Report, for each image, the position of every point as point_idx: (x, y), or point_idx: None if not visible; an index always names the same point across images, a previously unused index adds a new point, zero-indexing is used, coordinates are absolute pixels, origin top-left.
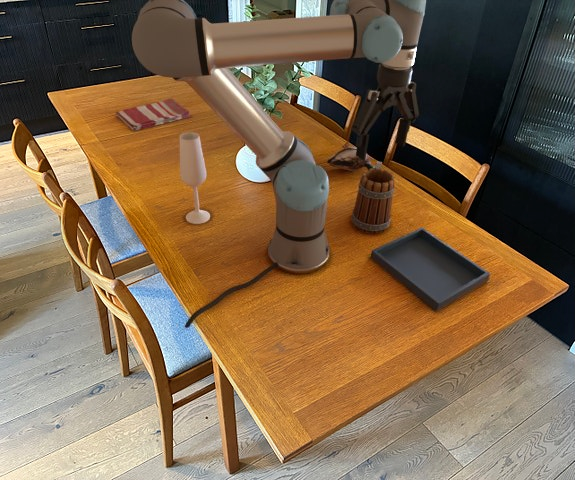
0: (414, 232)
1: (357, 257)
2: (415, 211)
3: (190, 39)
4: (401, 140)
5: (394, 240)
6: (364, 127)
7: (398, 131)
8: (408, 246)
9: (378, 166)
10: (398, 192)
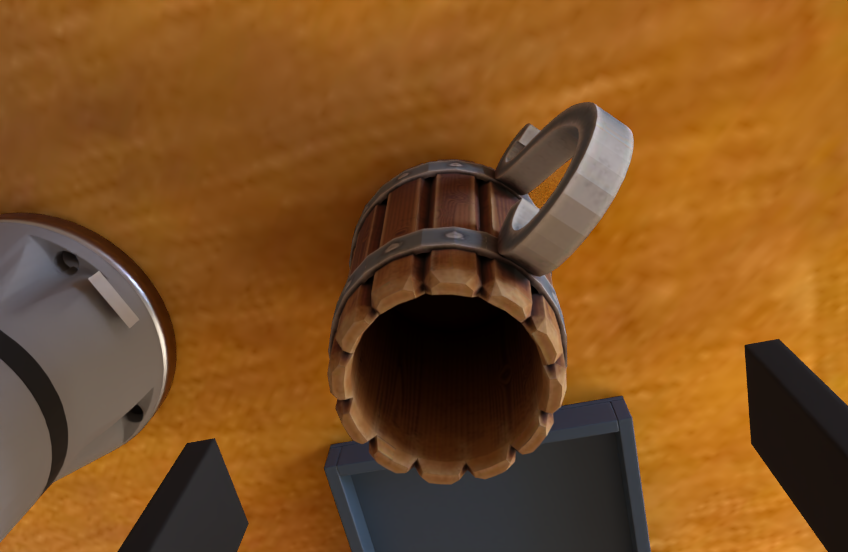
0: (572, 435)
1: (283, 425)
2: (735, 240)
3: None
4: (776, 451)
5: None
6: None
7: (820, 439)
8: None
9: (543, 247)
10: (789, 36)
